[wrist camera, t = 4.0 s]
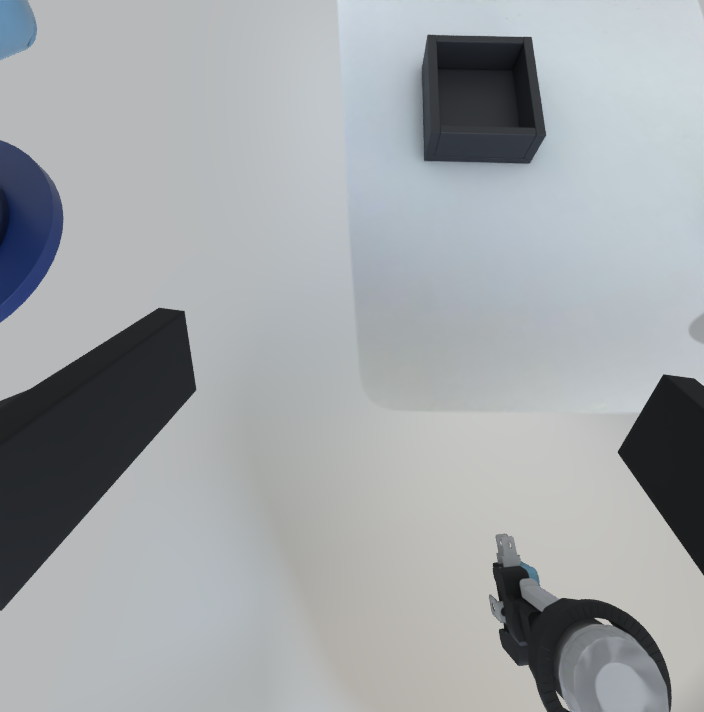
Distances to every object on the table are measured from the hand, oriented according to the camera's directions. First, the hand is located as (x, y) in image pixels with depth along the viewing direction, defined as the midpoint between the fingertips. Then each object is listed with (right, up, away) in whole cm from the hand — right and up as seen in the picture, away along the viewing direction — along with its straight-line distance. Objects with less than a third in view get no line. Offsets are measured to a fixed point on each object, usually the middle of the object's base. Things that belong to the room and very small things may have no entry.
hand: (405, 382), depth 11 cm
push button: (+9, -14, +13) cm, 21 cm away
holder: (+10, +24, +25) cm, 36 cm away
